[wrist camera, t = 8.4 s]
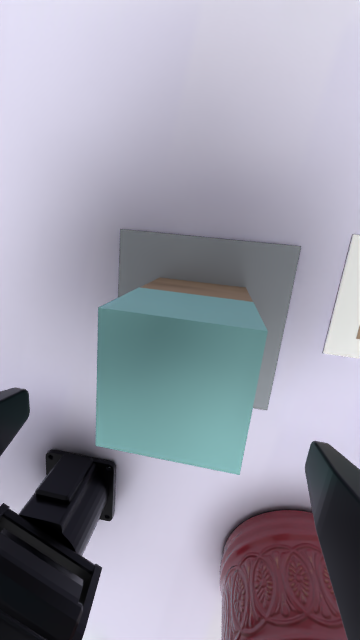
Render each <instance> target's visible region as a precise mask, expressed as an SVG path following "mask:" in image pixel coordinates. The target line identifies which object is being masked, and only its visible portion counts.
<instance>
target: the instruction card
mask: <svg viewBox="0 0 360 640" xmlns="http://www.w3.org/2000/svg"><path fill="white" fill-rule="evenodd" d="M323 354H330V355H337V356H344V357H351V358H358V359H360V235H352V239H351V243H350V247H349V251H348V255H347V259H346V263H345V267H344V271H343V275H342V278H341V282H340V286H339V290H338V294H337V298H336V302H335V306H334V310H333V314H332V318H331V322H330V326H329V330H328V334H327V338H326V342H325V346H324V350H323Z"/></svg>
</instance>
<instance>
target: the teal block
mask: <svg viewBox="0 0 360 640" xmlns="http://www.w3.org/2000/svg"><path fill="white" fill-rule="evenodd" d="M267 333H268V330H267V328H266V326H265V324H264V322H263V320H262V318H261V316H260V314H259V312H258V310H257V308H256V306H255V304H254V302H249V301H242V300H234V299H226V298H218V297H210V296H202V295H195V294H187V293H179V292H171V291H163V290H155V289H148V288H140V287H139V288H137V289H135V290H133V291H131V292H129V293H127V294H125V295H123V296H121V297H119V298H117V299H115V300H113V301H111V302H109V303H107V304H104V305H102V306H100V307H98V350H97V399H96V446H99V447H104V448H109V449H114V450H119V451H124V452H129V453H134V454H139V455H144V456H149V457H154V458H158V459H163V460H168V461H173V462H178V463H183V464H188V465H193V466H198V467H203V468H208V469H213V470H218V471H223V472H228V473H232V474H237V475H240V470H241V465H242V460H243V455H244V450H245V445H246V439H247V434H248V429H249V424H250V419H251V414H252V409H253V404H254V399H255V394H256V389H257V384H258V379H259V373H260V368H261V363H262V358H263V353H264V348H265V343H266V338H267Z"/></svg>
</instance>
